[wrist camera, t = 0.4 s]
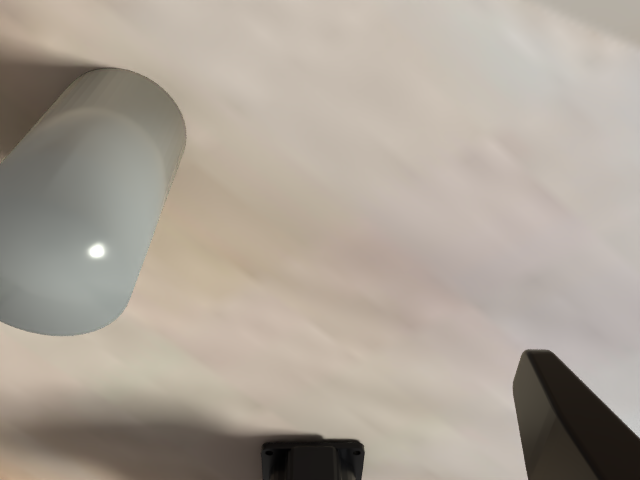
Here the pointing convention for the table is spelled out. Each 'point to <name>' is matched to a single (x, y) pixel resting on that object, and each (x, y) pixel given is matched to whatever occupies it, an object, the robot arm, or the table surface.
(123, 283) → the cylinder block
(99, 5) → the table surface
